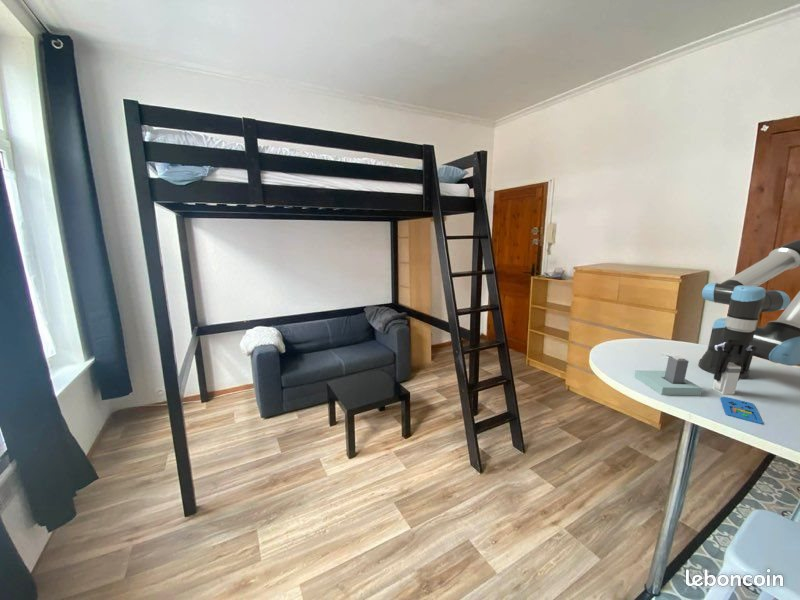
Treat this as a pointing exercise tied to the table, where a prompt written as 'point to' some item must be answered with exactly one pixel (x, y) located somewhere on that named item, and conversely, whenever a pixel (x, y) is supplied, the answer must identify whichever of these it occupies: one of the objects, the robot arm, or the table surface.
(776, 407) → the table surface
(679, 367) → the plug
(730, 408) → the handheld gaming device
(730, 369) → the block
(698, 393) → the outlet plate
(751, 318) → the robot arm
